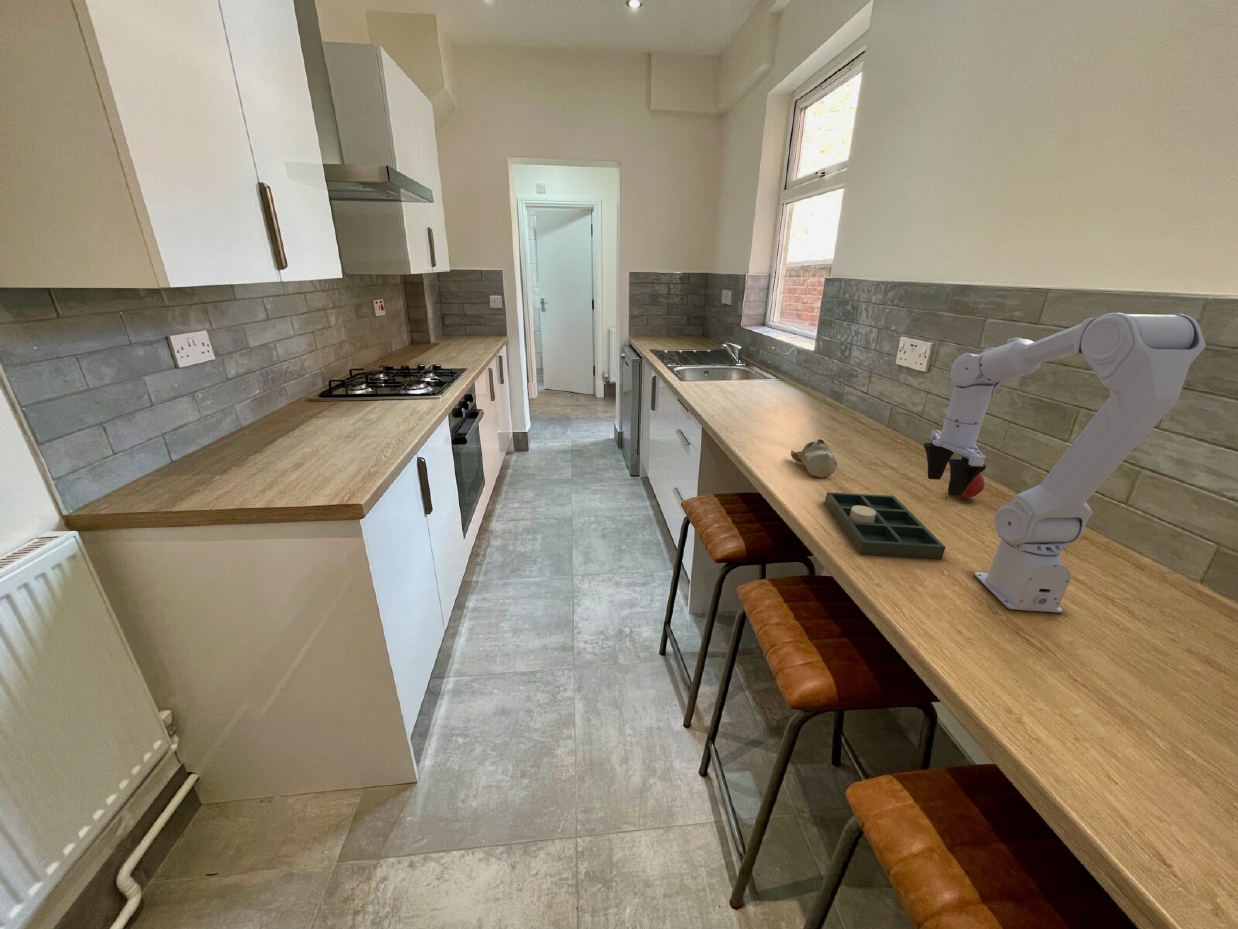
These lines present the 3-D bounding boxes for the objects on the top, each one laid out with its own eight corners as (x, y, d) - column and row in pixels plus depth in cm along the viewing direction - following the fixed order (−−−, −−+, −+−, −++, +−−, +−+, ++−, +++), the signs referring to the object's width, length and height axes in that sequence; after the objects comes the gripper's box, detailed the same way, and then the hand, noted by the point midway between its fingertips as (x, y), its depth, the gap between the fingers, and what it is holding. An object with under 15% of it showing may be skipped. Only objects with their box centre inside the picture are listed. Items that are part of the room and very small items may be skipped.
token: (876, 529, 96) (879, 516, 95) (853, 528, 97) (856, 515, 96) (867, 518, 100) (870, 505, 99) (845, 517, 101) (848, 504, 100)
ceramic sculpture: (805, 445, 117) (791, 430, 131) (800, 479, 120) (787, 460, 134) (851, 448, 116) (832, 432, 130) (845, 482, 119) (827, 463, 133)
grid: (941, 559, 88) (945, 547, 87) (860, 554, 89) (862, 542, 88) (891, 506, 108) (894, 495, 107) (824, 502, 109) (826, 492, 108)
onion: (983, 505, 109) (994, 472, 106) (955, 502, 110) (965, 469, 107) (971, 494, 115) (982, 462, 112) (944, 491, 116) (954, 460, 113)
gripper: (921, 408, 97) (905, 471, 102) (963, 431, 84) (942, 502, 89) (959, 409, 97) (940, 472, 102) (1006, 432, 83) (982, 504, 88)
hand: (943, 486), depth 95 cm, fingers open, 7 cm apart
